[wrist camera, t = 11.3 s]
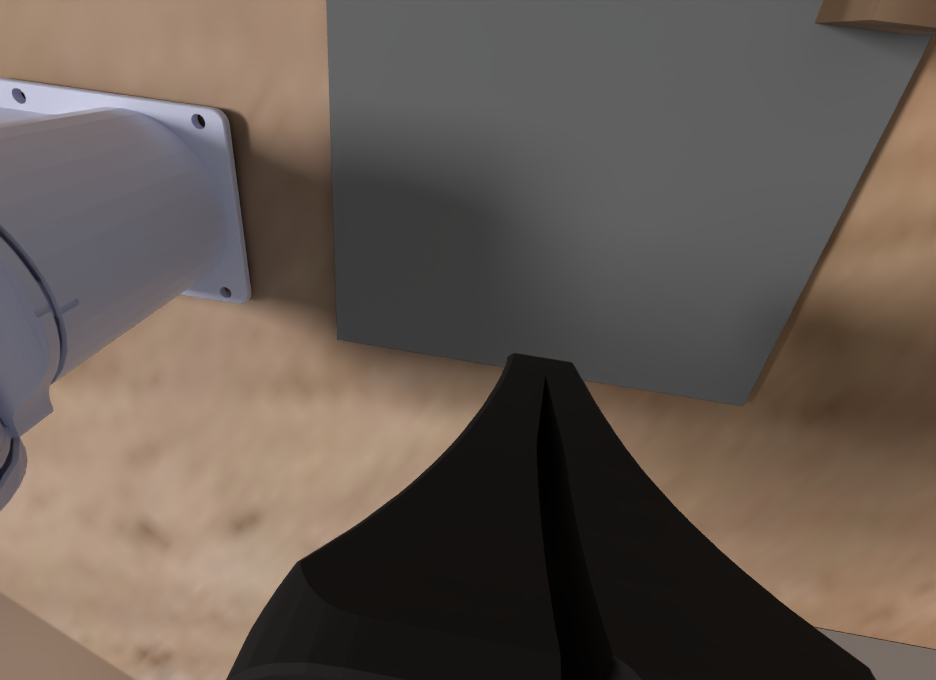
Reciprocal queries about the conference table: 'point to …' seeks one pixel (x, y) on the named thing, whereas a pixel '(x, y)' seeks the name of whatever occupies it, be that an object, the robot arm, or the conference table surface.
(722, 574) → the robot arm
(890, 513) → the conference table surface
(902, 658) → the gray hollow frame
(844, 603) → the conference table surface
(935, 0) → the brown cube
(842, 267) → the conference table surface
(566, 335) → the mat
